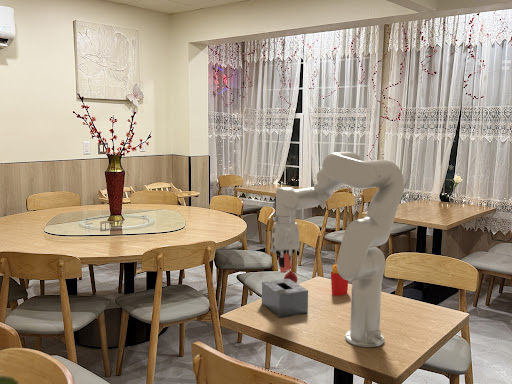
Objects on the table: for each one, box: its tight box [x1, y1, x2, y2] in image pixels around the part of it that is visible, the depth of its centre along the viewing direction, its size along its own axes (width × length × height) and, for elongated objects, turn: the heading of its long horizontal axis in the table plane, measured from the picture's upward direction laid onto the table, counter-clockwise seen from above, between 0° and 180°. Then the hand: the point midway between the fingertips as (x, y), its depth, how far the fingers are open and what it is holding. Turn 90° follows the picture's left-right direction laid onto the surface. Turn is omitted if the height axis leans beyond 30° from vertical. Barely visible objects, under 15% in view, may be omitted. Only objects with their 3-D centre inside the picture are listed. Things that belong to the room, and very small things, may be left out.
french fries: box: [330, 263, 349, 297], centre depth 210 cm, size 9×4×13 cm, turn 122°
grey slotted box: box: [261, 278, 309, 319], centre depth 192 cm, size 16×12×9 cm
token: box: [277, 253, 292, 274], centre depth 190 cm, size 6×2×6 cm
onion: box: [283, 269, 298, 284], centre depth 218 cm, size 6×6×8 cm
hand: (284, 266), depth 190 cm, fingers closed on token, 1 cm apart
